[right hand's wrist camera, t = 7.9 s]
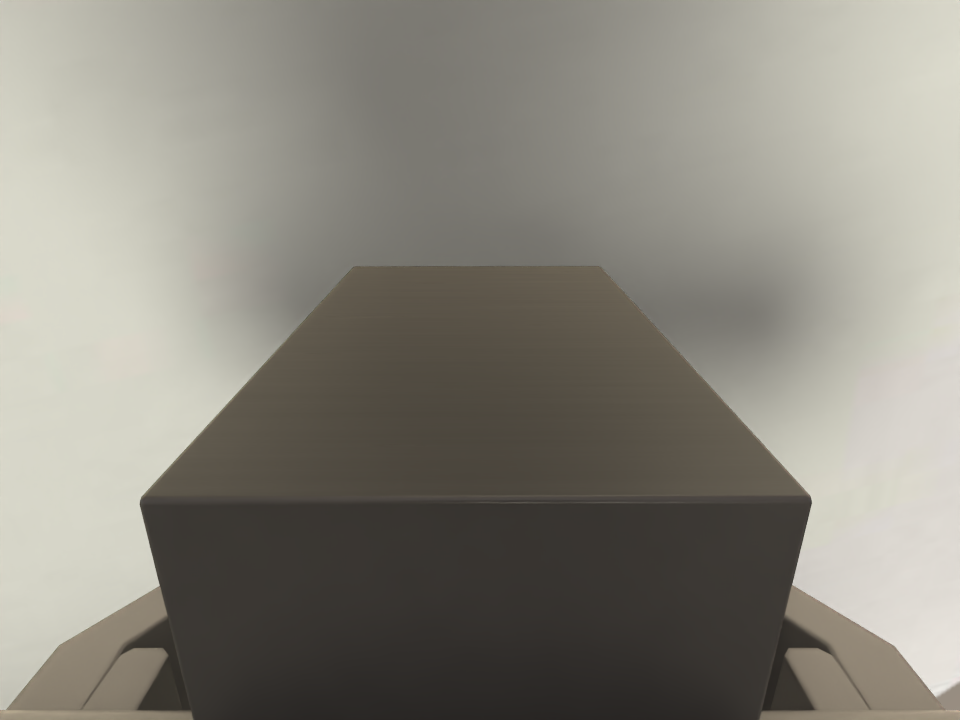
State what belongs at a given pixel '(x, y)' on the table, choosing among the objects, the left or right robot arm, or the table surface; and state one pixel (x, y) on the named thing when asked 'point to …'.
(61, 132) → the table surface
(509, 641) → the bar
